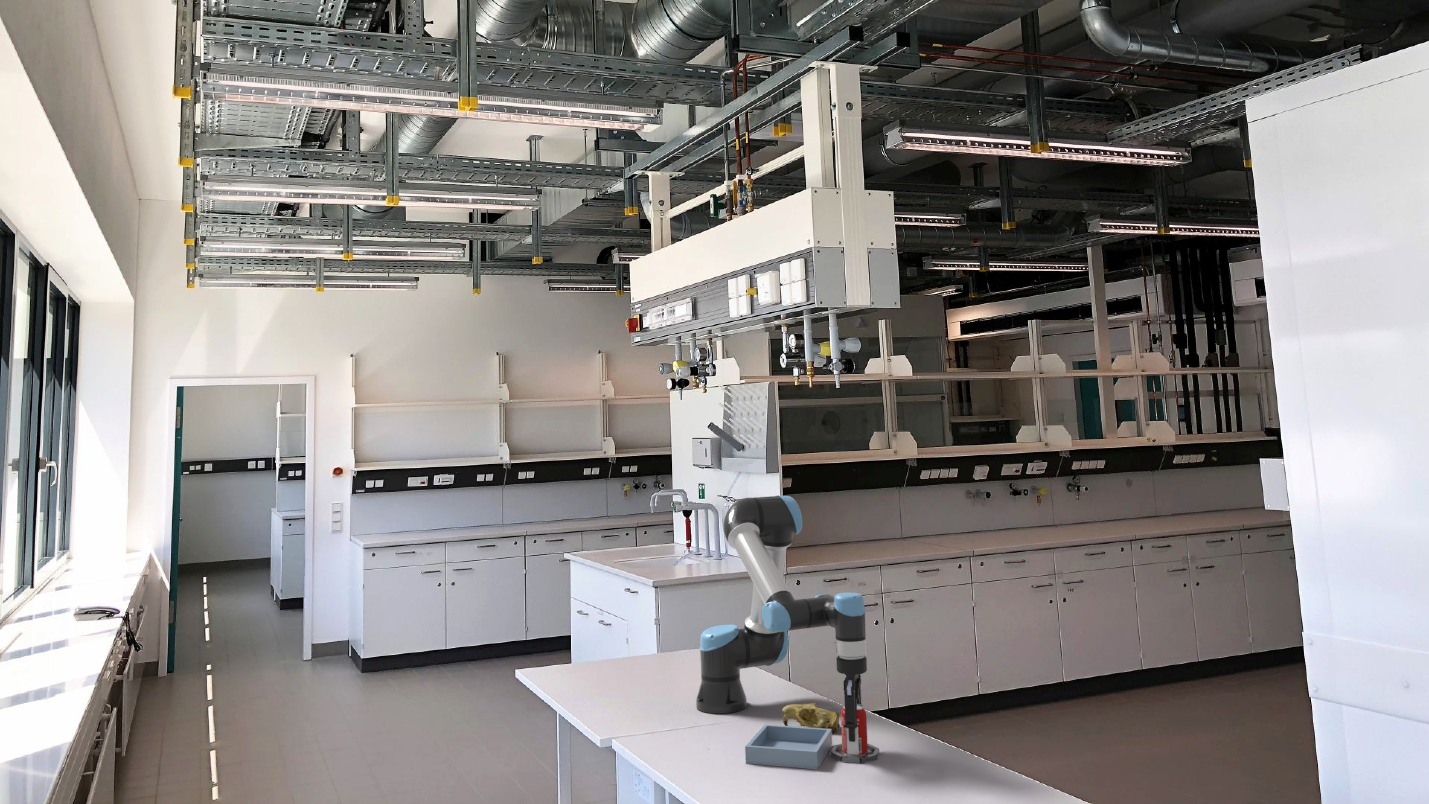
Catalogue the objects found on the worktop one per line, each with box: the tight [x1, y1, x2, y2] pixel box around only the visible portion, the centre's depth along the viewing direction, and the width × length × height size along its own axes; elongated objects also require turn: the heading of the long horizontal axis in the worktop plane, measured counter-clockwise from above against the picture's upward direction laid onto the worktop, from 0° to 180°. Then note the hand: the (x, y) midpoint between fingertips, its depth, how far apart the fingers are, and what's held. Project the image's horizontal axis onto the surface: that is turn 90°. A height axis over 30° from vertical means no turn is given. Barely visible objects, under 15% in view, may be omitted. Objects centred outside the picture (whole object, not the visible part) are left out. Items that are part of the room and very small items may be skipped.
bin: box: [744, 724, 833, 770], centre depth 234 cm, size 18×18×4 cm
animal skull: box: [781, 702, 841, 735], centre depth 254 cm, size 10×16×7 cm
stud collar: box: [830, 743, 880, 764], centre depth 232 cm, size 12×12×1 cm
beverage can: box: [840, 703, 869, 757], centre depth 232 cm, size 6×6×12 cm
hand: (854, 748), depth 232 cm, fingers closed on beverage can, 6 cm apart
